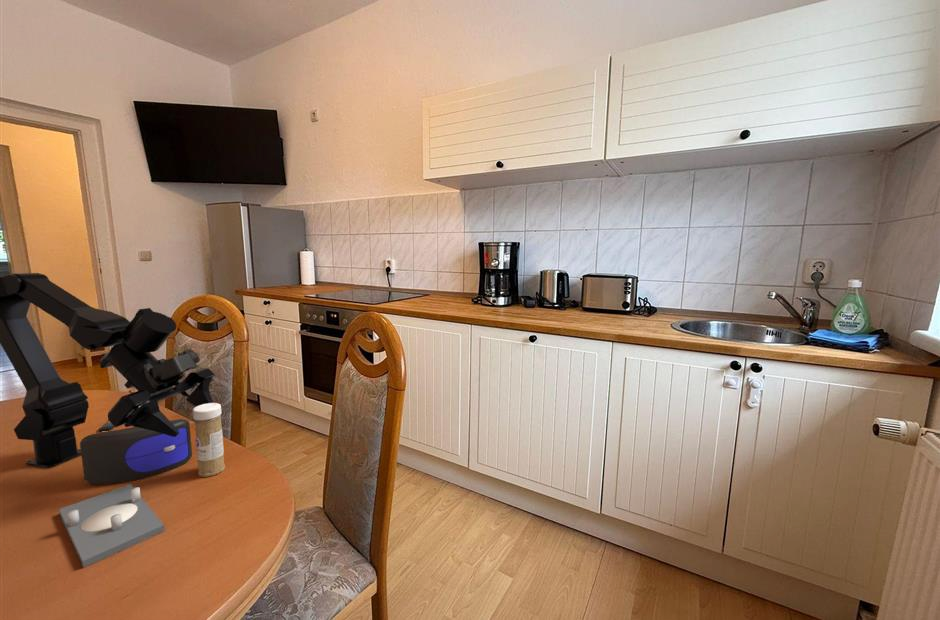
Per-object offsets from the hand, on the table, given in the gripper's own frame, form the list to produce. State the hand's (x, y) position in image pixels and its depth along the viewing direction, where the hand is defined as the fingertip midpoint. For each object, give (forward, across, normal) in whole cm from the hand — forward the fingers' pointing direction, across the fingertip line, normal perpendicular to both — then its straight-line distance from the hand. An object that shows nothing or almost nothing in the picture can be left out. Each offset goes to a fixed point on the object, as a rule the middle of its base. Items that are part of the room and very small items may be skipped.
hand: (197, 424), depth 75 cm
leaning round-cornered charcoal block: (-1, -2, +15) cm, 15 cm away
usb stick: (-20, +16, +34) cm, 43 cm away
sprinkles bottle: (+8, 0, +5) cm, 10 cm away
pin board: (+5, -16, +8) cm, 19 cm away
